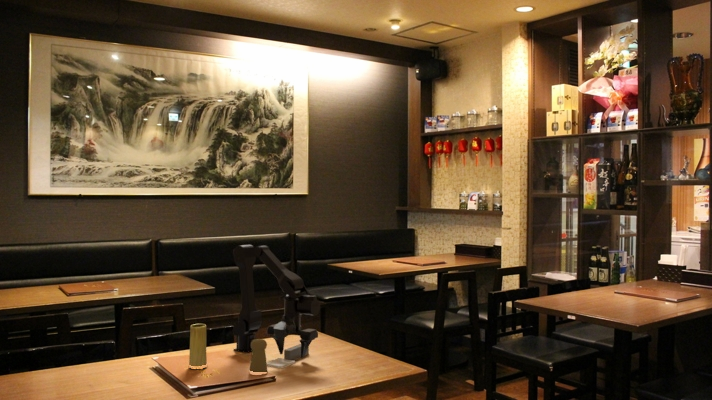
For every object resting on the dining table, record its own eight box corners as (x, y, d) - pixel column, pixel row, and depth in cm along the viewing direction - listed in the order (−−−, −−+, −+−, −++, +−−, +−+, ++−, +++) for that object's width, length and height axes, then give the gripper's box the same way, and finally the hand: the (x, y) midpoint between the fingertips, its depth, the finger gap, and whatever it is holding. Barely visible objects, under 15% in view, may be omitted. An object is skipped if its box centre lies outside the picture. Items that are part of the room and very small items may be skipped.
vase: (184, 368, 200) (185, 326, 200) (196, 364, 205) (196, 322, 205) (199, 371, 197) (200, 328, 197) (210, 366, 203) (211, 324, 203)
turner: (264, 365, 205) (265, 354, 205) (298, 352, 223) (298, 341, 223) (281, 368, 202) (281, 356, 202) (313, 355, 219) (314, 344, 219)
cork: (252, 376, 192) (252, 342, 192) (246, 371, 198) (247, 338, 198) (270, 374, 195) (270, 340, 195) (264, 369, 201) (264, 336, 200)
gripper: (257, 313, 210) (256, 357, 211) (301, 319, 201) (300, 365, 201) (276, 308, 220) (275, 350, 220) (319, 313, 211) (318, 357, 211)
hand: (291, 355), depth 213 cm, fingers open, 9 cm apart
